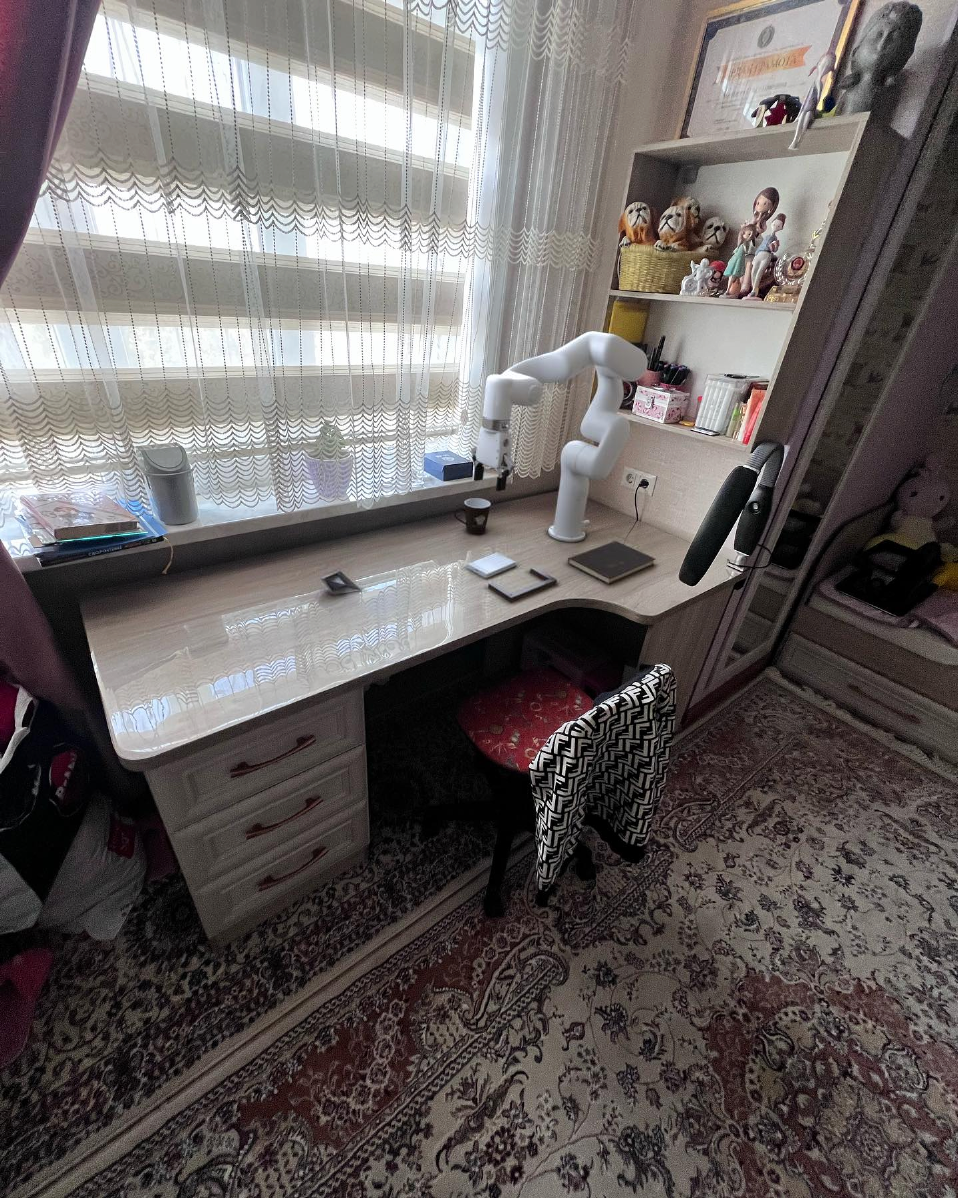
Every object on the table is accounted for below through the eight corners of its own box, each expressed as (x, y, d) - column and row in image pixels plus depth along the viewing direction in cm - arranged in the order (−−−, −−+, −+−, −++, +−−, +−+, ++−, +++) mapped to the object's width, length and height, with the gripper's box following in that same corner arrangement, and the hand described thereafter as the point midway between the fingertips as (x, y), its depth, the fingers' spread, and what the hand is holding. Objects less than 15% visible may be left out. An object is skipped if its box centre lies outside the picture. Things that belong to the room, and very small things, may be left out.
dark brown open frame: (533, 571, 157) (534, 566, 156) (556, 584, 151) (557, 579, 151) (487, 588, 147) (488, 583, 146) (510, 602, 141) (511, 597, 140)
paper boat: (351, 575, 145) (371, 579, 139) (345, 597, 145) (365, 602, 139) (313, 563, 136) (333, 567, 130) (307, 587, 136) (326, 592, 130)
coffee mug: (489, 527, 183) (491, 499, 178) (487, 537, 176) (489, 509, 170) (456, 523, 184) (457, 496, 178) (452, 533, 176) (453, 505, 171)
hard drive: (496, 552, 163) (467, 563, 155) (516, 561, 158) (486, 573, 150) (495, 556, 164) (466, 568, 156) (515, 566, 159) (486, 578, 151)
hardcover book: (653, 565, 166) (655, 558, 165) (608, 585, 153) (610, 578, 152) (613, 546, 176) (614, 540, 175) (567, 563, 163) (568, 556, 162)
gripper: (527, 430, 141) (519, 492, 149) (485, 416, 151) (479, 475, 160) (507, 432, 136) (499, 496, 145) (465, 418, 147) (460, 478, 155)
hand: (489, 485), depth 152 cm, fingers open, 9 cm apart
